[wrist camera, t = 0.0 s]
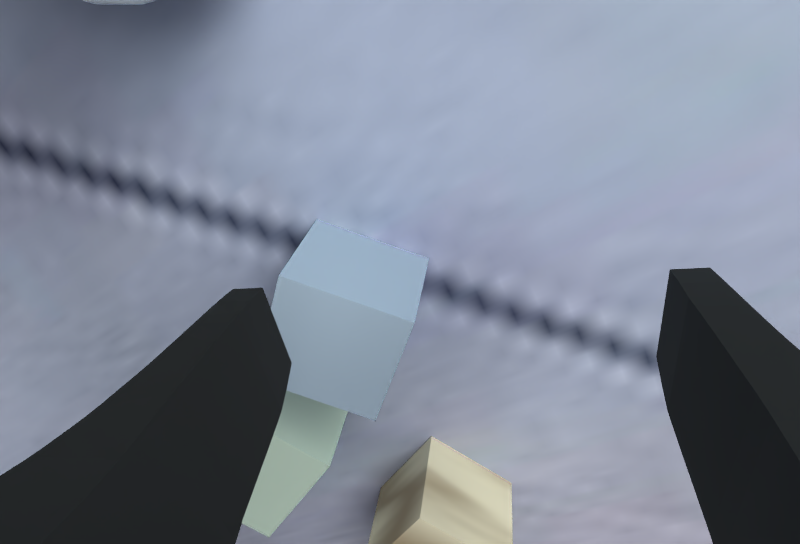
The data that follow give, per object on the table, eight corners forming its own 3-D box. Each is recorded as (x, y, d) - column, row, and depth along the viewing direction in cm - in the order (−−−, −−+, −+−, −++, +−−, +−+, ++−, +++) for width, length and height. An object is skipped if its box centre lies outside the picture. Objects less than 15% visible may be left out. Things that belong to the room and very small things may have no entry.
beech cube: (455, 528, 29) (448, 617, 25) (380, 486, 29) (362, 570, 25) (511, 481, 27) (513, 570, 23) (431, 434, 26) (419, 518, 23)
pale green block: (292, 477, 30) (268, 537, 27) (187, 419, 29) (150, 475, 26) (349, 407, 27) (329, 466, 24) (234, 341, 26) (198, 393, 23)
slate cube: (394, 345, 24) (375, 421, 20) (293, 310, 24) (254, 379, 20) (429, 257, 22) (414, 322, 18) (317, 217, 22) (278, 275, 18)
